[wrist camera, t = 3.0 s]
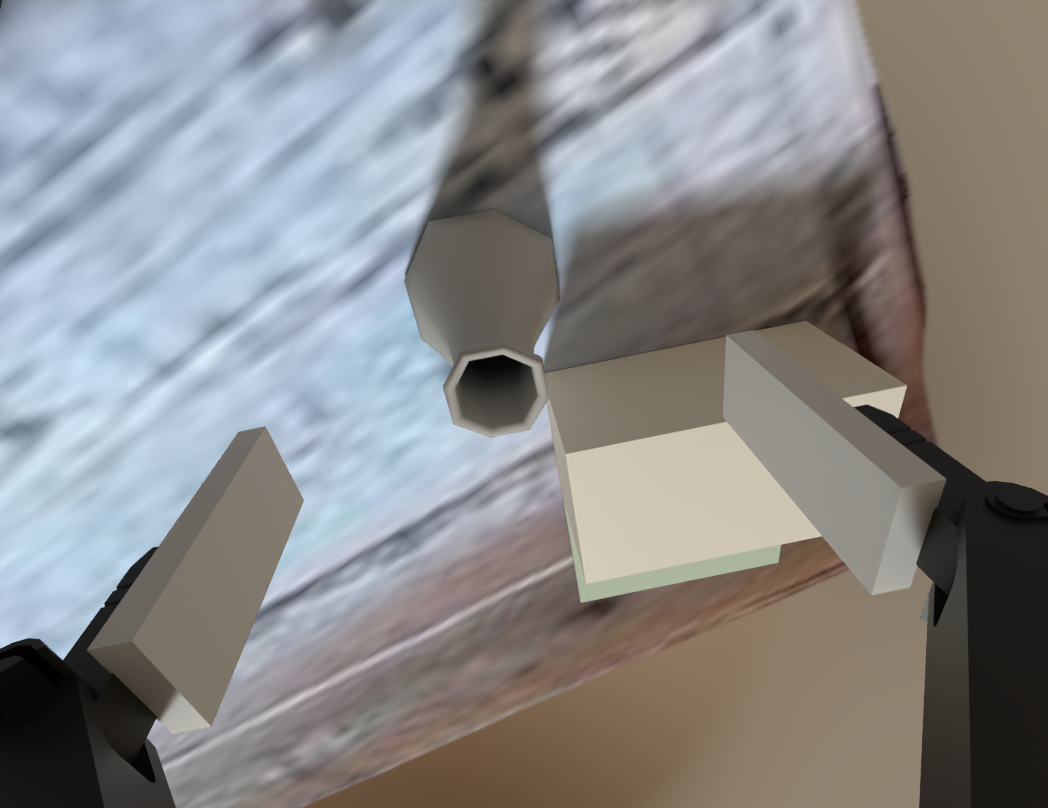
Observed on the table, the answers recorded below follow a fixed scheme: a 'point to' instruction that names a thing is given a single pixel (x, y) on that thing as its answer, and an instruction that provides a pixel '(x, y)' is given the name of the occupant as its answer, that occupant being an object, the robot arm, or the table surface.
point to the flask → (486, 315)
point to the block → (682, 453)
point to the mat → (668, 571)
